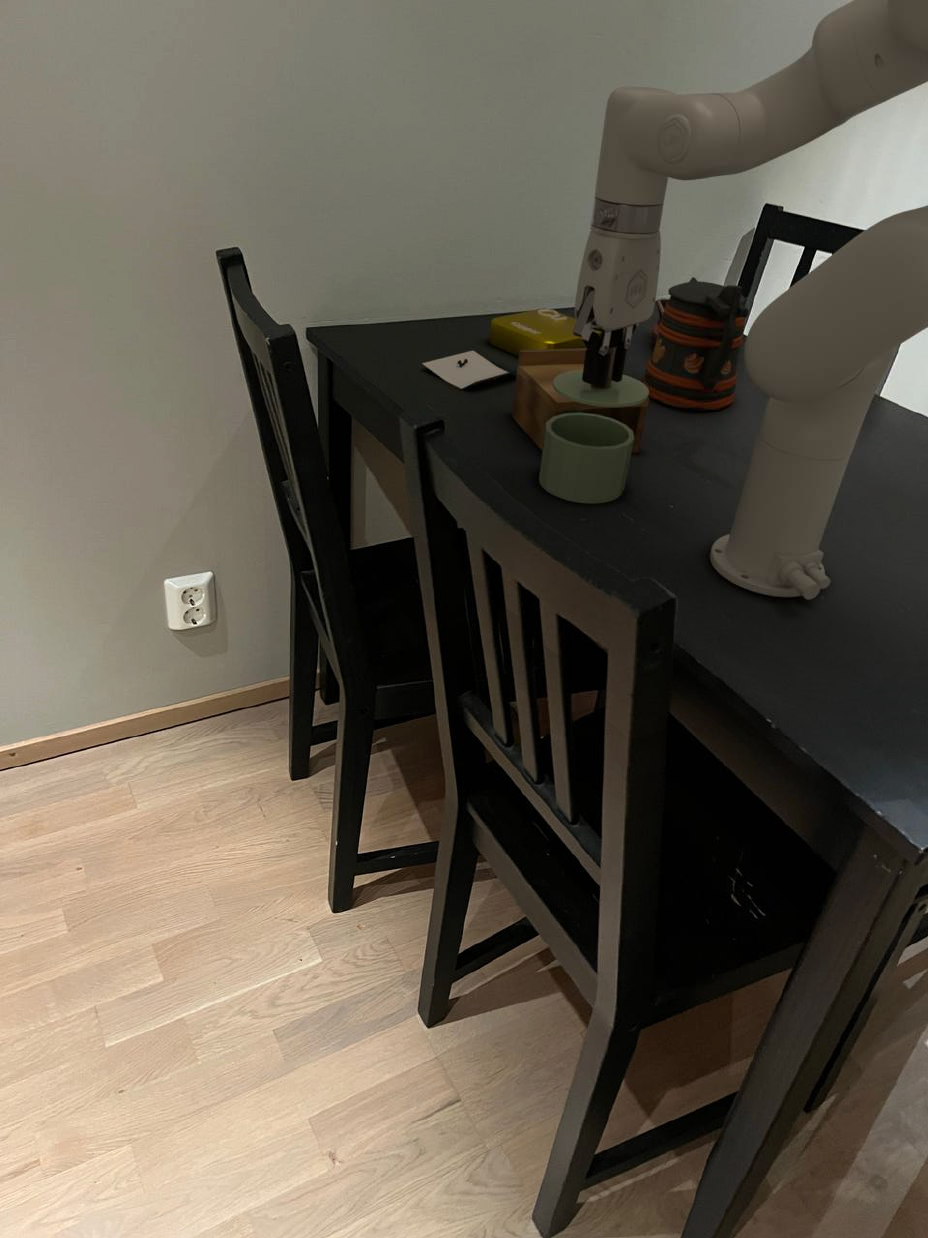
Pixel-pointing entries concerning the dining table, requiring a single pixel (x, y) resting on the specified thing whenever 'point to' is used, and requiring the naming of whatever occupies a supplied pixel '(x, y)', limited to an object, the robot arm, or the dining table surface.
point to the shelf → (543, 402)
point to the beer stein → (697, 346)
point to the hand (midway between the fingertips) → (601, 380)
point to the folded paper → (466, 369)
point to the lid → (608, 396)
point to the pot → (585, 457)
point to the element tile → (534, 331)
